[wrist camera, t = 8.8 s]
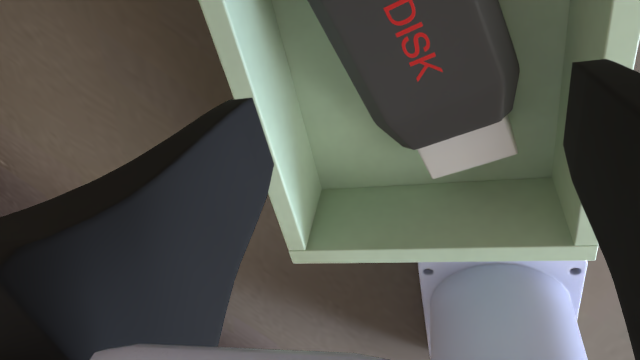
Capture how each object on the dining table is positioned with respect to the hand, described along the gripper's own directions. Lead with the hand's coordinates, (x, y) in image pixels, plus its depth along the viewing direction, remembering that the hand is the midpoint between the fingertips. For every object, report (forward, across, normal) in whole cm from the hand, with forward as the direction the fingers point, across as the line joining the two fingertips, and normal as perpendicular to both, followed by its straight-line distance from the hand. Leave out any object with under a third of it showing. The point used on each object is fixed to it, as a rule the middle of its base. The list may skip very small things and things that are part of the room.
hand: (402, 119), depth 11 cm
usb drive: (+7, 0, 0) cm, 7 cm away
